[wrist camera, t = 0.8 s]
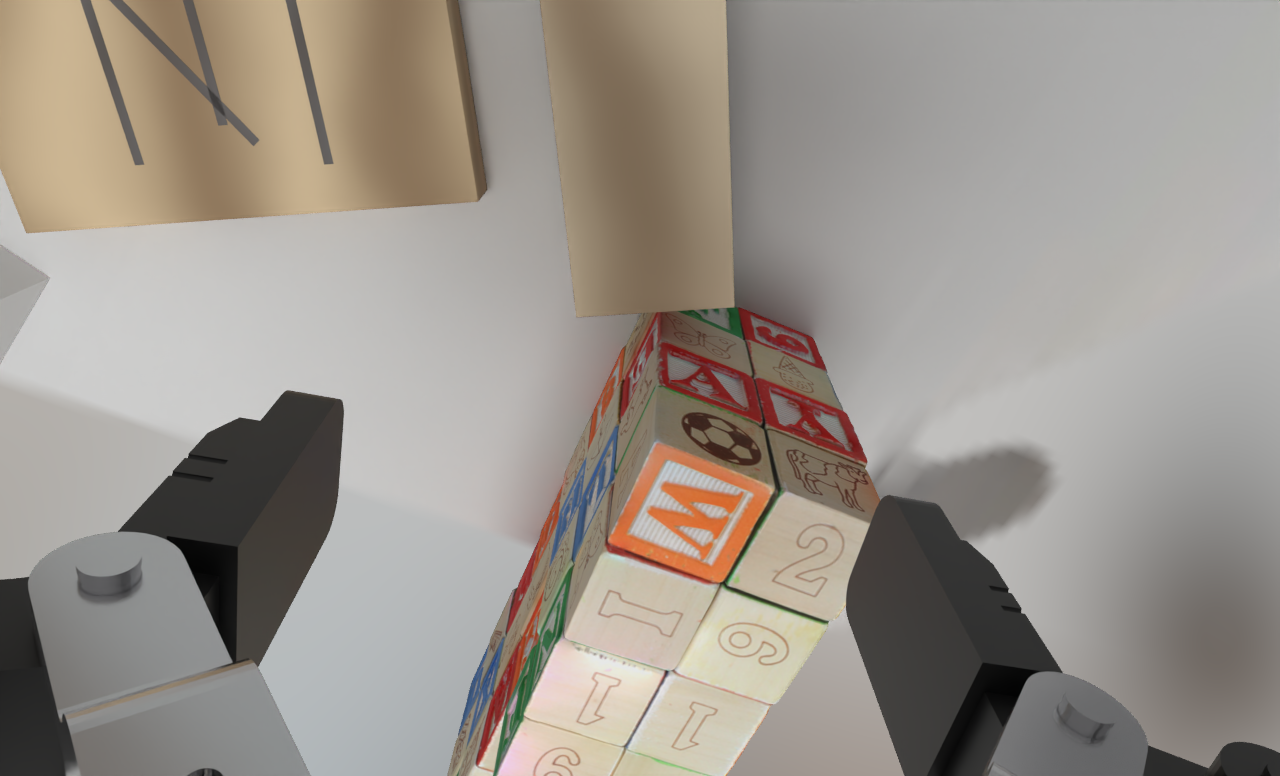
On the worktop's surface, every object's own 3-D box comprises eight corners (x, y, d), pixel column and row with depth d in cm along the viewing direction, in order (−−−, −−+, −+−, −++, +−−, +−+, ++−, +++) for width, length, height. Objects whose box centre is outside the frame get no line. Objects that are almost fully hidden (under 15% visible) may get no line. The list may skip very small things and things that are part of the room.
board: (433, -161, 24) (418, -169, 23) (487, 189, 29) (478, 201, 27) (-71, -115, 25) (-116, -120, 24) (57, 220, 30) (25, 233, 28)
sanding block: (710, -47, 26) (724, -50, 20) (720, 244, 30) (734, 307, 24) (561, -34, 26) (536, -34, 20) (591, 253, 30) (576, 317, 24)
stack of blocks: (597, 722, 40) (573, 1013, 29) (469, 681, 39) (394, 965, 28) (816, 333, 31) (903, 537, 20) (657, 266, 30) (656, 443, 19)
